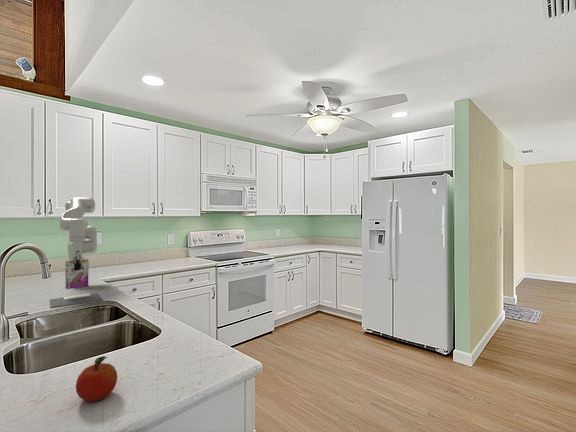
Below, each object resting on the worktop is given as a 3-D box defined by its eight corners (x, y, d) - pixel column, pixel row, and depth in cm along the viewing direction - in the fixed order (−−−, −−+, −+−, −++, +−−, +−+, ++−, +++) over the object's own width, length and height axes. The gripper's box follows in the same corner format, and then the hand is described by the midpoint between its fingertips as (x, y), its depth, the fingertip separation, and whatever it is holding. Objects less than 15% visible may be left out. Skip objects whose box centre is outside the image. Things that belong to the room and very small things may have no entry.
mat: (49, 300, 179) (49, 298, 179) (97, 293, 194) (97, 292, 194) (50, 308, 163) (50, 306, 163) (102, 300, 178) (102, 299, 178)
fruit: (65, 406, 78) (65, 367, 78) (95, 385, 88) (95, 351, 88) (98, 410, 77) (98, 370, 77) (125, 388, 86) (124, 353, 86)
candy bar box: (66, 289, 178) (66, 261, 178) (65, 288, 182) (64, 260, 182) (88, 286, 186) (88, 259, 186) (87, 285, 190) (86, 258, 190)
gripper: (68, 238, 188) (68, 268, 188) (70, 240, 175) (70, 272, 175) (82, 238, 193) (83, 266, 193) (85, 239, 180) (86, 270, 180)
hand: (77, 269), depth 184 cm, fingers closed on candy bar box, 5 cm apart
